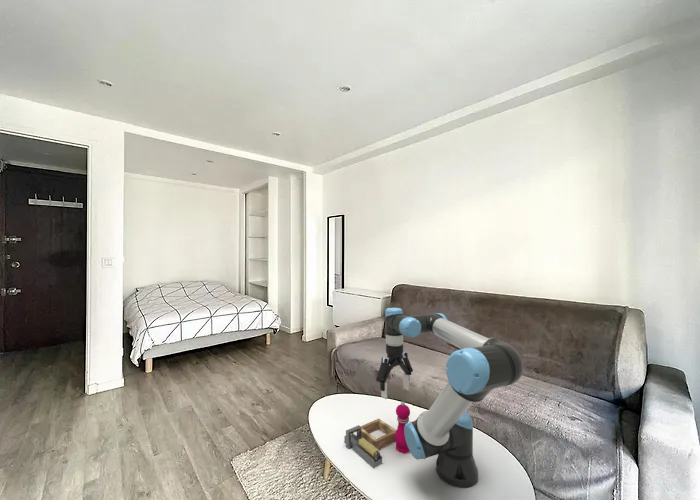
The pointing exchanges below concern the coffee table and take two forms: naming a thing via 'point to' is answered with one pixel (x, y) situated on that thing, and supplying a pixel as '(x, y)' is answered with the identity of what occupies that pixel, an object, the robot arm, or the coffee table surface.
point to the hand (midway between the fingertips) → (395, 393)
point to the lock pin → (369, 449)
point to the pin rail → (353, 443)
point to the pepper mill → (402, 427)
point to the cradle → (382, 440)
